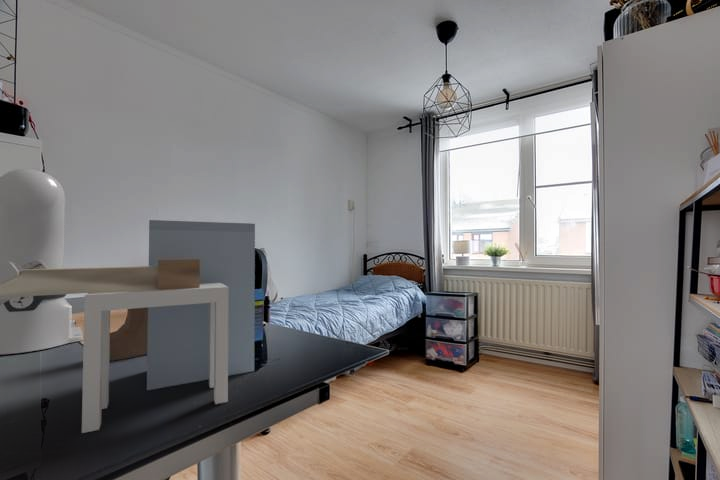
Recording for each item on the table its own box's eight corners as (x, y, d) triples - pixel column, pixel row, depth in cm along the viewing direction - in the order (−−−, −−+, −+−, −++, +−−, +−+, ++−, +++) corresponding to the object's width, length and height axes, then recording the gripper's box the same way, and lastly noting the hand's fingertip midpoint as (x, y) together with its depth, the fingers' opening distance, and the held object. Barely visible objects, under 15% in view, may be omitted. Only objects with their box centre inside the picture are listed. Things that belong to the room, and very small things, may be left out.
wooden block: (102, 363, 64) (104, 268, 65) (99, 358, 67) (101, 267, 68) (156, 353, 70) (157, 266, 71) (151, 348, 73) (152, 266, 74)
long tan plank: (5, 294, 41) (6, 261, 41) (196, 284, 51) (196, 258, 52) (-14, 299, 37) (-13, 262, 37) (199, 287, 47) (199, 259, 47)
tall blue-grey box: (149, 370, 60) (151, 224, 61) (242, 355, 68) (243, 227, 69) (146, 390, 51) (149, 219, 52) (254, 371, 59) (254, 223, 60)
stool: (94, 406, 46) (96, 288, 47) (219, 382, 54) (220, 282, 55) (81, 433, 39) (84, 295, 40) (227, 401, 47) (228, 287, 48)
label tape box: (254, 337, 83) (254, 287, 83) (264, 340, 80) (264, 288, 81) (220, 345, 76) (220, 290, 76) (229, 348, 73) (229, 291, 74)
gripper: (-271, 333, 25) (-30, 240, 31) (-90, 299, 42) (40, 244, 48) (-200, 400, 26) (16, 297, 32) (-54, 340, 44) (68, 281, 50)
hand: (31, 265), depth 40 cm, fingers open, 8 cm apart
